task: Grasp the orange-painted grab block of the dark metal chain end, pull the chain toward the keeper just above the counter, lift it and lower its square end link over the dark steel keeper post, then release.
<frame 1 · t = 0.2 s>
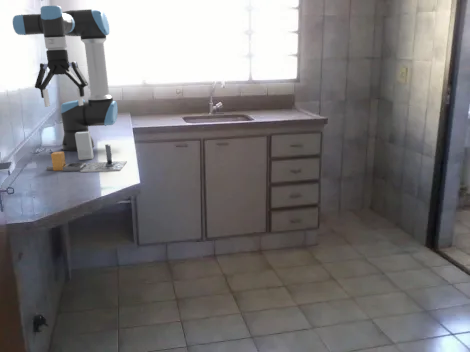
hand: (64, 105, 190), 27 cm above the worktop, fingers open, 13 cm apart
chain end: (74, 168, 204), on the worktop
keeper post: (110, 167, 204), on the worktop
skincare box: (86, 159, 221), on the worktop
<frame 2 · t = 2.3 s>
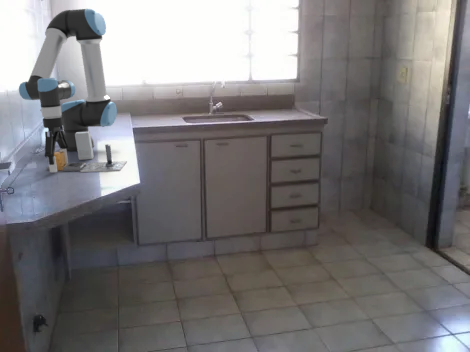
hand: (59, 167, 204), 1 cm above the worktop, fingers open, 13 cm apart
nothing on the worktop moved.
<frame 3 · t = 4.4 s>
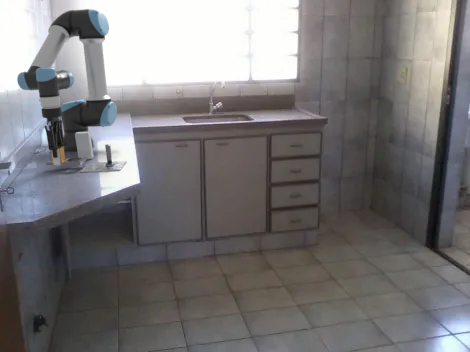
hand: (59, 163, 204), 2 cm above the worktop, fingers closed on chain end, 4 cm apart
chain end: (74, 163, 204), point 2 cm above the worktop, touching gripper
everything else where it was.
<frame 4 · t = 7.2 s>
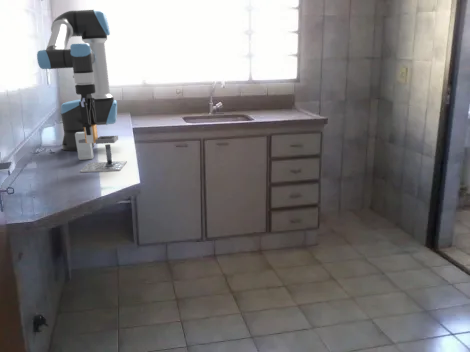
hand: (92, 141, 201), 11 cm above the worktop, fingers closed on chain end, 4 cm apart
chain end: (107, 141, 201), point 11 cm above the worktop, touching gripper
everything else where it was.
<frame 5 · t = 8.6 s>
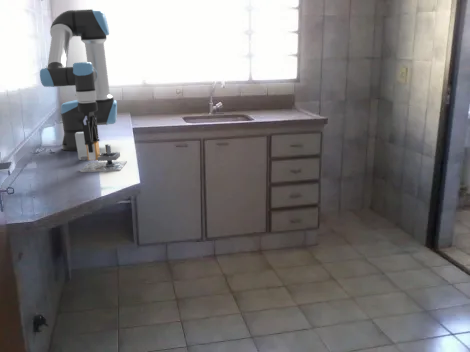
hand: (94, 158, 203), 4 cm above the worktop, fingers closed on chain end, 4 cm apart
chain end: (109, 158, 203), point 4 cm above the worktop, touching gripper
everything else where it was.
when the fingers open (2 cm above the worktop, at t = 9.9 s): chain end stays where it is, resting on keeper post.
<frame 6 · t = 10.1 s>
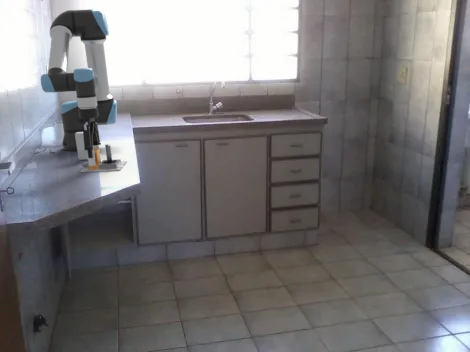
hand: (94, 162, 204), 2 cm above the worktop, fingers open, 7 cm apart
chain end: (110, 165, 204), point 1 cm above the worktop, touching keeper post
everything else where it was.
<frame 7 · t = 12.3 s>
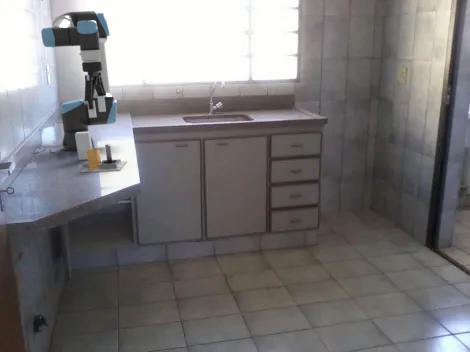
hand: (97, 114, 202), 22 cm above the worktop, fingers open, 13 cm apart
nothing on the worktop moved.
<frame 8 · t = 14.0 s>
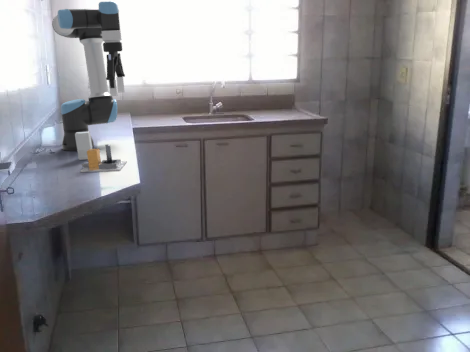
hand: (117, 94, 206), 29 cm above the worktop, fingers open, 13 cm apart
nothing on the worktop moved.
at the end: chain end 0.0 cm from the keeper post (horizontally); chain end point 0.6 cm above the worktop; the gripper is holding nothing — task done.
